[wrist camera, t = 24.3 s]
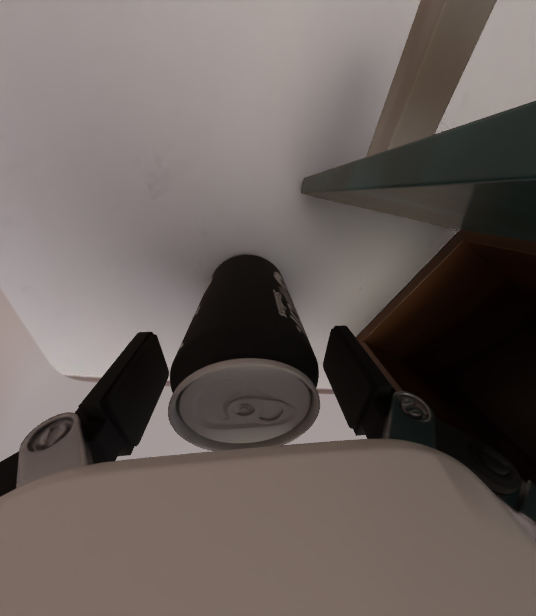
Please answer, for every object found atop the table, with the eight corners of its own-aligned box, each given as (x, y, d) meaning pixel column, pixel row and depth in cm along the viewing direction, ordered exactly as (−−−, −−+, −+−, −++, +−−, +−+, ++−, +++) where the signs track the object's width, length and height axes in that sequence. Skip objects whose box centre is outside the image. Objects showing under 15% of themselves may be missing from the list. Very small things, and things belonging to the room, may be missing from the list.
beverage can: (220, 240, 15) (164, 332, 5) (294, 266, 17) (365, 374, 7) (204, 308, 18) (148, 453, 8) (268, 324, 20) (290, 462, 10)
